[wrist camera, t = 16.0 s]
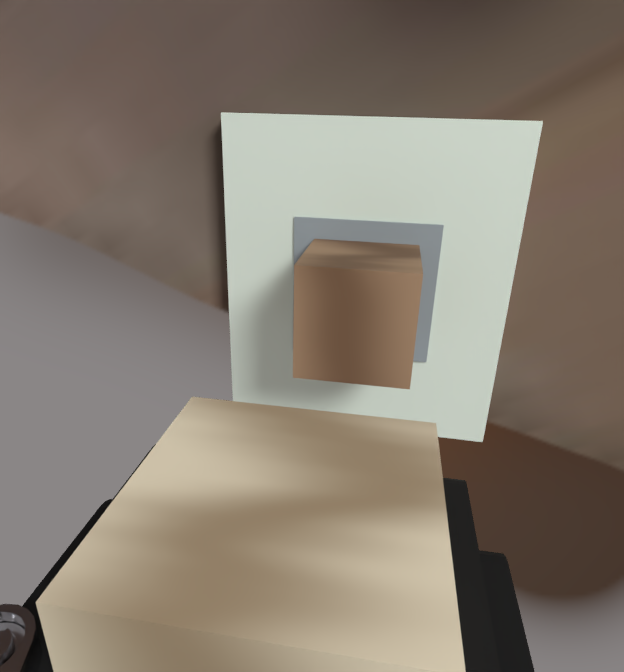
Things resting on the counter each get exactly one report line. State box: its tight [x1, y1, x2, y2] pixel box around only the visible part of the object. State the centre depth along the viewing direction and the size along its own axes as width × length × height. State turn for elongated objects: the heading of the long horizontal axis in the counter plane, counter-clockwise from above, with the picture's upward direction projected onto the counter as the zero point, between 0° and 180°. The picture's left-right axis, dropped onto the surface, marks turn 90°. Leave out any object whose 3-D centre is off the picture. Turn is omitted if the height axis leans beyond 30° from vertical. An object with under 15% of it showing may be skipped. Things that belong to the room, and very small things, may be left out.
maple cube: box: [36, 397, 466, 672], centre depth 9 cm, size 5×5×5 cm
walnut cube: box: [293, 239, 423, 389], centre depth 23 cm, size 5×5×5 cm
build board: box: [221, 113, 543, 442], centre depth 26 cm, size 14×16×1 cm
